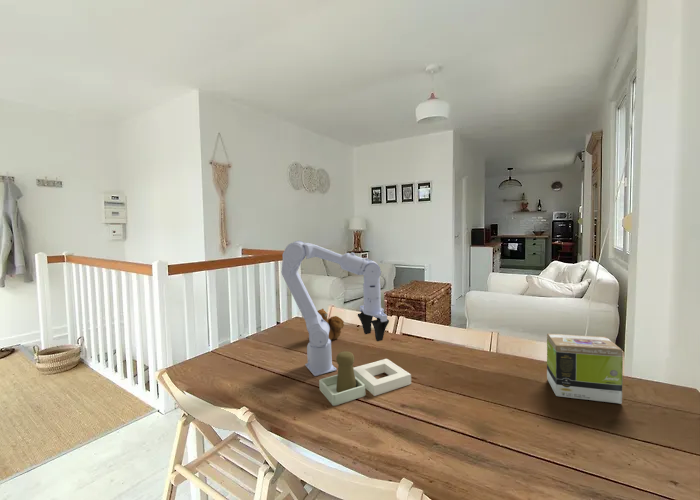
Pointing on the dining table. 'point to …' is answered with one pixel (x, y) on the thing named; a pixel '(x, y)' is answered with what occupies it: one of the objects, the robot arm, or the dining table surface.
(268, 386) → the dining table surface
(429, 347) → the dining table surface
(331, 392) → the tray
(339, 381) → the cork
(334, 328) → the stuffed squirrel
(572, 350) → the tea box
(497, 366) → the dining table surface
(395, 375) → the holder
